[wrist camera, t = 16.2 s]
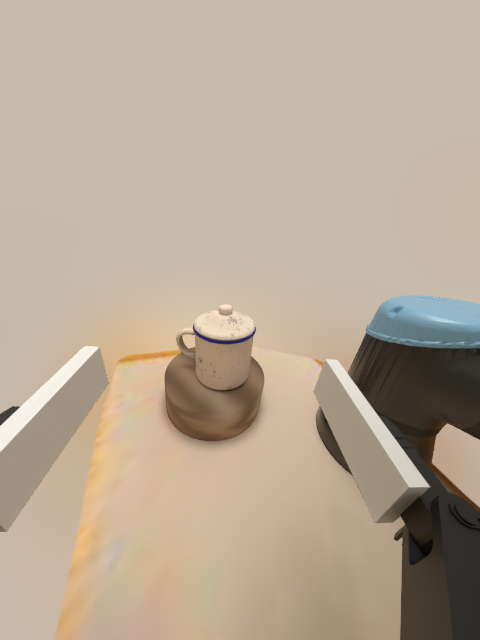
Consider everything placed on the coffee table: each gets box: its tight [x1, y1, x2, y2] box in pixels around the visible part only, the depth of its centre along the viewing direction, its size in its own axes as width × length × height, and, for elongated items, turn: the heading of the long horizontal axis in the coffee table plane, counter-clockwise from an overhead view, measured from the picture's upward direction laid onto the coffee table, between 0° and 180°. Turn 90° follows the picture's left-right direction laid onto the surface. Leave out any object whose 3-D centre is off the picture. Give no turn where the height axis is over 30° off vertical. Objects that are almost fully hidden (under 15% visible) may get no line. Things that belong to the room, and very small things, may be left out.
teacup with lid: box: [176, 304, 256, 390], centre depth 32 cm, size 12×9×12 cm
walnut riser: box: [165, 347, 264, 441], centre depth 35 cm, size 16×16×6 cm
